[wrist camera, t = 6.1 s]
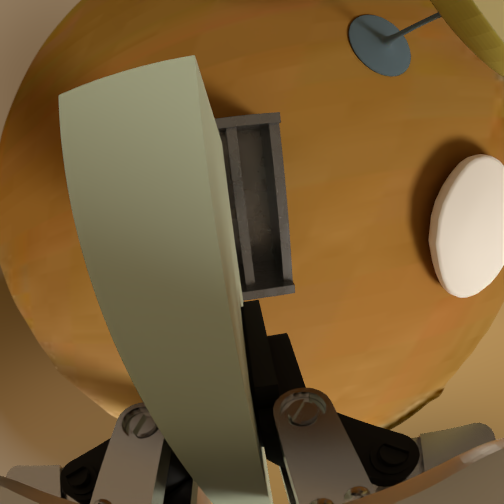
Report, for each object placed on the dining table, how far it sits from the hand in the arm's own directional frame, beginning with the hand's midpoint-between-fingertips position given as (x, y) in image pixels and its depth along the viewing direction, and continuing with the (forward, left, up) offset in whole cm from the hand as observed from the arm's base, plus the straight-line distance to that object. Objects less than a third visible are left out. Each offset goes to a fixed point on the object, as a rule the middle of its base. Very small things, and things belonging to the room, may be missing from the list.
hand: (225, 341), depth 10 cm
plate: (-8, -44, -29) cm, 53 cm away
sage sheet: (0, 0, -13) cm, 13 cm away
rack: (0, 0, -28) cm, 28 cm away
